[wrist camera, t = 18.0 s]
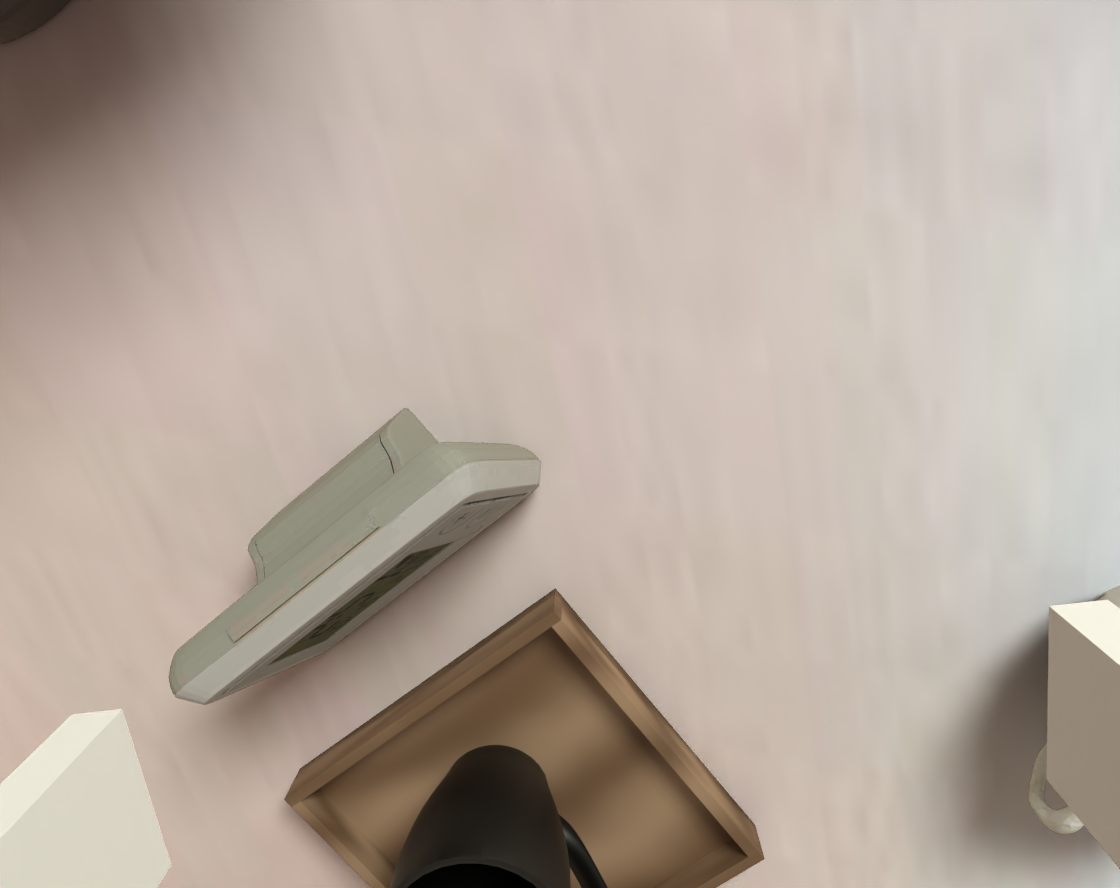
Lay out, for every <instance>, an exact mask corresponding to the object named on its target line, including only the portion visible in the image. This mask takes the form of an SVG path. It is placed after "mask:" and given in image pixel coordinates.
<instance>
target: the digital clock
mask: <svg viewBox="0 0 1120 888" xmlns="http://www.w3.org/2000/svg"><path fill="white" fill-rule="evenodd" d="M540 469H541V462H540V460H539V459H538V457H537V456H536V455H535V454H533V453H532V452H531V451H529V450H528V449H525V448H523V447H520V446H516V445H512V444H498V443H471V442H442V443H439V442H438V441H437V440H436V439H435V438H434V437H433V436H432V434H431V433H430V432H429V431H428V430H427V429H426V428H425V426H424V425H423V424H422V423H421V422H420V421H419V420H418V418H417V417H416V416H415V415H414V414H413V413H412V412H411V411H410V410H409V409H407V408H404V409H403V410H402V411H400V412H399V413H398V414H397V415H396V416H394V417H393V418H392V419H391V420H389V421H388V422H387V423H386V424H385V425H383V426H382V427H381V428H380V429H379V430H377V431H376V432H375V433H374V434H373V435H371V436H370V437H369V438H368V439H367V440H365V441H364V442H363V443H362V444H361V445H359V446H358V447H357V448H356V449H355V450H353V451H352V452H351V453H350V454H349V455H347V456H346V457H345V458H344V459H343V460H341V461H340V462H339V463H338V464H336V465H335V466H334V467H333V468H332V469H330V470H329V471H328V472H327V473H326V474H324V475H323V476H322V477H321V478H320V479H318V480H317V481H316V482H315V483H314V484H312V485H311V486H310V487H309V488H308V489H306V490H305V491H304V492H303V493H302V494H300V495H299V496H298V497H297V498H296V499H294V500H293V501H292V502H291V503H289V504H288V505H287V506H286V507H285V508H283V509H282V510H281V511H280V512H279V513H278V514H277V515H276V516H275V517H273V518H272V519H271V520H270V521H269V522H268V523H267V524H266V525H265V526H264V527H263V528H262V529H261V530H260V531H259V532H258V533H257V534H256V535H255V536H254V537H253V538H252V540H251V542H250V543H249V547H248V551H249V554H250V556H251V558H252V560H253V562H254V564H255V567H256V572H257V585H256V586H255V587H253V588H252V589H251V590H250V591H248V592H247V593H246V594H245V595H244V596H242V597H241V598H240V599H239V600H237V601H236V602H235V603H234V604H232V605H231V606H230V607H229V608H228V609H226V610H225V611H224V612H223V613H221V614H220V615H219V616H218V617H216V618H215V619H214V620H213V621H212V622H210V623H209V624H208V625H207V626H205V627H204V628H203V629H202V630H201V631H199V632H198V633H197V634H196V635H195V636H193V637H192V638H191V639H190V640H189V641H187V642H186V643H185V644H184V645H183V646H181V647H180V648H179V649H178V650H177V651H176V653H175V655H174V656H173V659H172V663H171V666H170V673H169V682H170V687H171V690H172V692H173V694H175V697H176V698H179V699H183V700H187V701H190V702H195V703H199V704H203V705H205V704H209V703H212V702H214V701H216V700H219V699H221V698H223V697H226V696H228V695H230V694H232V693H235V692H237V691H239V690H241V689H243V688H246V687H248V686H250V685H252V684H255V683H257V682H259V681H261V680H264V679H266V678H268V677H270V676H273V675H275V674H277V673H279V672H282V671H284V670H286V669H288V668H291V667H293V666H295V665H297V664H300V663H302V662H304V661H306V660H308V659H311V658H313V657H315V656H317V655H319V654H321V653H323V652H325V651H326V650H328V649H329V648H331V647H332V646H334V645H335V644H336V643H338V642H339V641H340V640H342V639H343V638H344V637H346V636H347V635H348V634H349V633H351V632H352V631H353V630H355V629H356V628H357V627H359V626H360V625H361V624H363V623H364V622H365V621H366V620H368V619H369V618H370V617H372V616H373V615H374V614H375V613H377V612H378V611H379V610H381V609H382V608H383V607H385V606H386V605H387V604H388V603H390V602H391V601H392V600H394V599H395V598H396V597H397V596H399V595H400V594H401V593H403V592H404V591H405V590H406V589H408V588H409V587H410V586H412V585H413V584H414V583H416V582H417V581H418V580H419V579H421V578H422V577H423V576H425V575H426V574H427V573H428V572H430V571H431V570H432V569H434V568H435V567H436V566H438V565H439V564H440V563H441V562H443V561H444V560H445V559H447V558H448V557H449V556H450V555H452V554H453V553H454V552H456V551H457V550H458V549H460V548H461V547H462V546H463V545H465V544H466V543H467V542H469V541H470V540H471V539H472V538H474V537H475V536H476V535H478V534H479V533H480V532H482V531H483V530H484V529H485V528H487V527H488V526H489V525H491V524H492V523H493V522H494V521H496V520H497V519H498V518H500V517H501V516H502V515H504V514H505V513H506V512H507V511H509V510H510V509H511V508H513V507H514V506H515V505H516V504H518V503H519V502H520V501H521V500H523V499H524V498H525V497H527V496H528V495H529V494H530V493H532V492H533V491H534V490H535V489H536V488H537V487H538V486H539V482H540Z"/></svg>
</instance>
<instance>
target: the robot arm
mask: <svg viewBox="0 0 1120 888" xmlns="http://www.w3.org/2000/svg"><path fill="white" fill-rule="evenodd" d="M68 1H69V0H0V44H1V43H4V42H7V41H11V40H13V39H16V38H18V37H21V36H23V35H25V34H27V33H29V32H31V31H33V30H34V29H36V28H38V27H39V26H41V25H42V24H44V23H45V22H46V21H48V20H49V19H50V18H52V17H53V16H54V15H55V14H56V13H57V12H58V11H60V10H61V9H62V8H63V7H64V6H65V4H66V3H67V2H68ZM1046 780H1047V781H1048V782H1049V783H1050V784H1051V786H1052V787H1053V788H1054V789H1055V790H1056V792H1057V793H1058V794H1059V795H1060V797H1061V798H1062V799H1063V800H1064V801H1065V803H1066V804H1067V805H1068V806H1069V808H1070V809H1071V810H1072V811H1073V812H1074V814H1075V815H1076V816H1077V817H1078V819H1079V820H1080V821H1081V822H1082V823H1083V825H1084V826H1085V827H1086V828H1087V830H1088V831H1089V832H1090V833H1091V834H1092V836H1093V837H1094V838H1095V839H1096V840H1097V842H1098V843H1099V844H1100V845H1101V847H1102V848H1103V849H1104V850H1105V851H1106V853H1107V854H1108V855H1109V856H1110V858H1111V859H1112V860H1113V861H1114V862H1115V864H1116V865H1117V866H1118V867H1119V869H1120V608H1118V607H1117V606H1116V605H1114V604H1113V603H1112V602H1110V601H1109V600H1100V601H1091V602H1082V603H1073V604H1064V605H1055V606H1049V648H1048V711H1047V774H1046ZM171 865H172V864H171V861H170V858H169V855H168V852H167V849H166V845H165V842H164V839H163V836H162V833H161V830H160V827H159V823H158V820H157V817H156V814H155V811H154V808H153V804H152V801H151V798H150V795H149V792H148V789H147V786H146V782H145V779H144V776H143V773H142V770H141V767H140V764H139V760H138V757H137V754H136V751H135V748H134V745H133V741H132V738H131V735H130V732H129V729H128V726H127V723H126V719H125V716H124V713H123V710H122V709H117V710H108V711H99V712H90V713H81V714H72V715H71V716H70V717H69V718H68V719H67V720H66V721H65V722H64V723H63V724H62V725H61V726H60V727H59V728H58V729H57V730H56V731H55V732H54V733H53V734H52V735H50V736H49V737H48V738H47V739H46V740H45V741H44V742H43V743H42V744H41V745H40V746H39V747H38V748H37V749H36V750H35V751H34V752H33V753H32V754H31V755H30V756H29V757H28V758H27V759H26V760H25V761H24V762H23V763H22V764H21V765H20V766H19V767H18V768H17V769H15V770H14V771H13V772H12V773H11V774H10V775H9V776H8V777H7V778H6V779H5V780H4V781H3V782H2V783H1V784H0V888H157V887H158V886H159V884H160V882H161V881H162V879H163V878H164V876H165V875H166V873H167V871H168V870H169V868H170V867H171Z"/></svg>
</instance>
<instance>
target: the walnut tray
mask: <svg viewBox="0 0 1120 888" xmlns="http://www.w3.org/2000/svg"><path fill="white" fill-rule="evenodd" d="M487 745H504V746H509V747H513V748H515V749H518V750H520V751H522V752H524V753H526V754H527V755H529V756H530V757H532V758H533V759H534V760H535V761H536V762H537V763H538V764H539V765H540V767H541V769H542V770H543V772H544V774H545V776H546V779H547V782H548V786H549V789H550V791H551V794H552V796H553V799H554V802H555V805H556V808H557V811H558V814H559V815H560V816H562V817H563V818H564V819H565V820H566V821H567V822H568V823H569V824H570V825H571V826H572V827H573V829H574V830H575V831H576V833H577V834H578V835H579V837H580V838H581V840H582V842H583V843H584V845H585V847H586V848H587V850H588V852H589V854H590V855H591V857H592V859H593V861H594V863H595V865H596V866H597V868H598V870H599V872H600V874H601V876H602V878H603V880H604V881H605V883H606V885H607V887H608V888H716V887H718V886H720V885H721V884H723V883H725V882H726V881H728V880H730V879H731V878H733V877H735V876H736V875H738V874H740V873H742V872H743V871H745V870H747V869H748V868H750V867H752V866H753V865H755V864H757V863H758V862H760V861H762V860H763V859H764V855H763V852H762V848H761V845H760V841H759V838H758V834H757V830H756V827H755V825H754V823H753V822H752V821H751V820H750V819H749V817H748V816H747V815H746V814H745V813H744V812H743V810H742V809H741V808H740V807H739V806H738V804H737V803H736V802H735V801H734V800H733V798H732V797H731V796H730V795H729V794H728V793H727V791H726V790H725V789H724V788H723V787H722V785H721V784H720V783H719V782H718V781H717V780H716V778H715V777H714V776H713V775H712V774H711V772H710V771H709V770H708V769H707V768H706V766H705V765H704V764H703V763H702V762H701V761H700V759H699V758H698V757H697V756H696V755H695V753H694V752H693V751H692V750H691V749H690V748H689V746H688V745H687V744H686V743H685V742H684V740H683V739H682V738H681V737H680V736H679V734H678V733H677V732H676V731H675V730H674V729H673V727H672V726H671V725H670V724H669V723H668V721H667V720H666V719H665V718H664V717H663V716H662V714H661V713H660V712H659V711H658V710H657V708H656V707H655V706H654V705H653V704H652V702H651V701H650V700H649V699H648V698H647V697H646V695H645V694H644V693H643V692H642V691H641V689H640V688H639V687H638V686H637V685H636V684H635V682H634V681H633V680H632V679H631V678H630V676H629V675H628V674H627V673H626V672H625V670H624V669H623V668H622V667H621V666H620V665H619V663H618V662H617V661H616V660H615V659H614V657H613V656H612V655H611V654H610V653H609V652H608V650H607V649H606V648H605V647H604V646H603V644H602V643H601V642H600V641H599V640H598V638H597V637H596V636H595V635H594V634H593V633H592V631H591V630H590V629H589V628H588V627H587V625H586V624H585V623H584V622H583V621H582V620H581V618H580V617H579V616H578V615H577V614H576V612H575V611H574V610H573V609H572V608H571V606H570V605H569V604H568V603H567V602H566V601H565V599H564V598H563V597H562V596H561V595H560V593H559V592H558V591H557V590H556V589H554V590H553V591H551V592H550V593H548V594H547V595H546V596H544V597H543V598H541V599H540V600H539V601H537V602H536V603H534V604H533V605H531V606H530V607H529V608H527V609H526V610H524V611H523V612H522V613H520V614H519V615H517V616H516V617H514V618H513V619H512V620H510V621H509V622H507V623H506V624H505V625H503V626H502V627H500V628H499V629H497V630H496V631H495V632H493V633H492V634H490V635H489V636H488V637H486V638H485V639H483V640H482V641H480V642H479V643H478V644H476V645H475V646H473V647H472V648H471V649H469V650H468V651H466V652H465V653H463V654H462V655H461V656H459V657H458V658H456V659H455V660H454V661H452V662H451V663H449V664H448V665H446V666H445V667H444V668H442V669H441V670H439V671H438V672H437V673H435V674H434V675H432V676H431V677H429V678H428V679H427V680H425V681H424V682H422V683H421V684H420V685H418V686H417V687H415V688H414V689H412V690H411V691H410V692H408V693H407V694H405V695H404V696H403V697H401V698H400V699H398V700H397V701H395V702H394V703H393V704H391V705H390V706H388V707H387V708H386V709H384V710H383V711H381V712H380V713H378V714H377V715H376V716H374V717H373V718H371V719H370V720H369V721H367V722H366V723H364V724H363V725H361V726H360V727H359V728H357V729H356V730H354V731H353V732H352V733H350V734H349V735H347V736H346V737H344V738H343V739H342V740H340V741H339V742H337V743H336V744H335V745H333V746H332V747H330V748H329V749H327V750H326V751H325V752H323V753H322V754H320V755H319V756H318V757H316V758H315V759H313V760H312V761H310V762H309V763H308V764H306V765H305V766H303V767H302V768H300V770H299V772H298V774H297V776H296V778H295V780H294V782H293V783H292V785H291V787H290V789H289V791H288V793H287V795H286V797H285V799H284V800H285V801H286V802H287V803H288V804H289V805H290V806H291V807H292V808H293V809H294V810H295V811H296V812H297V813H298V814H299V815H300V816H301V817H302V818H303V819H304V820H305V821H306V822H307V823H308V824H309V825H310V826H311V827H312V828H313V829H314V830H315V831H316V832H317V833H318V834H319V835H320V836H321V837H322V838H323V839H324V840H325V841H326V842H327V843H328V844H329V845H330V846H331V847H332V848H333V849H334V850H335V851H336V852H337V853H338V854H339V855H340V856H341V857H342V858H343V859H344V860H345V861H346V862H347V863H348V864H349V865H350V866H351V867H352V868H353V869H354V870H355V871H356V872H357V873H358V874H359V875H360V876H361V877H362V878H363V879H364V880H365V881H366V882H367V883H368V884H369V885H370V886H371V887H372V888H390V884H391V881H392V877H393V874H394V871H395V867H396V864H397V861H398V858H399V855H400V852H401V850H402V848H403V846H404V843H405V841H406V839H407V837H408V835H409V833H410V830H411V828H412V826H413V824H414V822H415V820H416V818H417V817H418V815H419V813H420V811H421V809H422V808H423V806H424V805H425V803H426V802H427V800H428V799H429V797H430V796H431V794H432V793H433V792H434V790H435V789H436V788H437V786H438V785H439V784H440V783H441V781H442V780H443V779H444V778H445V776H446V775H447V774H448V772H449V771H450V769H451V767H452V766H453V765H454V763H455V762H456V761H457V760H458V759H459V758H460V757H461V756H463V755H464V754H465V753H467V752H469V751H471V750H473V749H475V748H478V747H482V746H487ZM570 882H571V888H581V886H580V884H579V882H578V880H577V879H576V877H575V875H574V873H573V872H572V870H571V868H570Z"/></svg>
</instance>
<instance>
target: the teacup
mask: <svg viewBox="0 0 1120 888" xmlns="http://www.w3.org/2000/svg"><path fill="white" fill-rule="evenodd" d="M1100 600H1109V601H1110V602H1112V603H1113V604H1114V605H1116V606H1117V607H1118V608H1120V586H1118V587H1115V588H1113V589H1111V590H1109V591H1107V592H1105V593H1103V594H1101V595H1100V596H1098V597H1096V598H1095V599H1093V600H1092V601H1100ZM1090 602H1091V601H1090ZM1046 774H1047V743H1046V744H1045V746H1044V747H1043V749H1041V750H1040V752H1039V754H1038V756H1037V758H1036V761H1035V763H1034V766H1033V772H1032V777H1031V781H1030V785H1029V804H1030V806H1031V807H1032V809H1033V810H1034V812H1035V813H1036V815H1037V816H1038V817H1039V818H1040V820H1041V821H1042V822H1043V824H1044V825H1045V826H1046V827H1047V828H1049V829H1050V830H1051V831H1054V832H1057V833H1060V834H1070V833H1074V832H1076V831H1078V830H1079V829H1081V828H1082V827H1083V826H1084V825H1083V823H1082V822H1081V821H1080V820H1079V819H1078V817H1077V816H1076V815H1075V814H1074V812H1073V811H1072V810H1071V809H1070V808H1069V806H1067V807H1065V808H1062V809H1060V810H1054V809H1051V808H1050V807H1049V806H1048V805H1047V804H1046V803H1045V801H1044V790H1045V785H1046Z"/></svg>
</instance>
